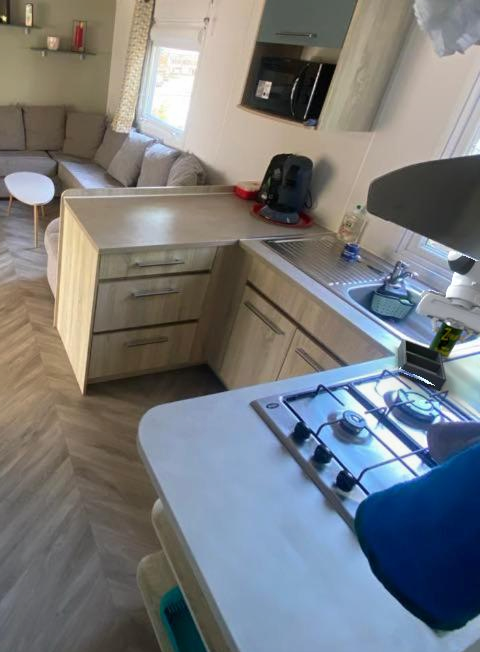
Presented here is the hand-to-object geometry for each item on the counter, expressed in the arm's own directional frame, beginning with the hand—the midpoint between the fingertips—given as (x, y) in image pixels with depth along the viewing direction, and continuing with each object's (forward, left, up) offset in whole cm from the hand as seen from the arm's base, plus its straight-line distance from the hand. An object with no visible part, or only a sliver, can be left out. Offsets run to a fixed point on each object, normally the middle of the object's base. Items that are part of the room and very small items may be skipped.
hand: (447, 337), depth 133 cm
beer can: (0, -1, -7) cm, 7 cm away
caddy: (+6, +15, -7) cm, 18 cm away
